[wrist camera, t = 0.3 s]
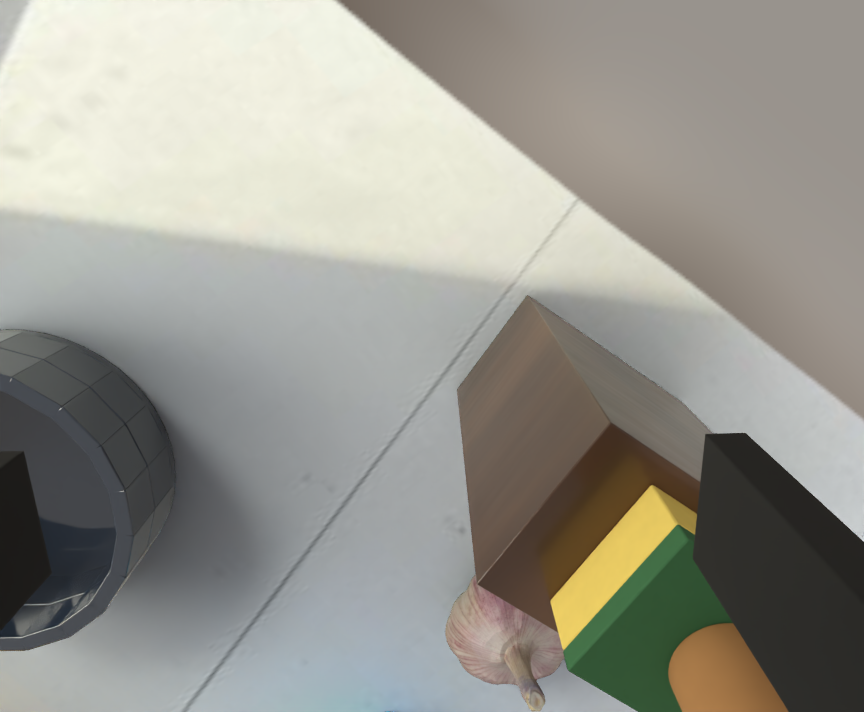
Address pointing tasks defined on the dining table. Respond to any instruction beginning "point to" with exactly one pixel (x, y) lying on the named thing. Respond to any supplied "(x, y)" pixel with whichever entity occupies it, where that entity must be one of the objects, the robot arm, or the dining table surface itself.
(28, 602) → the bowl
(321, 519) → the dining table surface
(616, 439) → the stand
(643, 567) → the sponge
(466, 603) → the garlic bulb
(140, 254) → the dining table surface
